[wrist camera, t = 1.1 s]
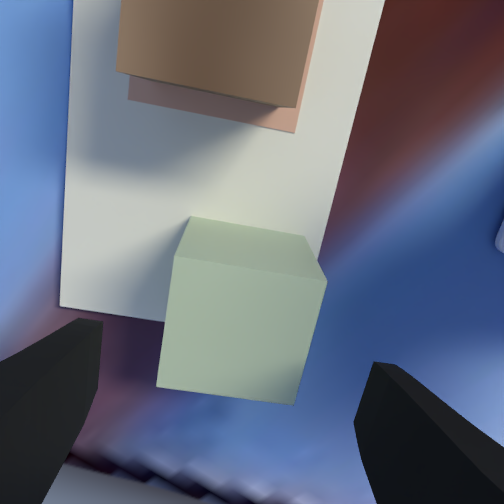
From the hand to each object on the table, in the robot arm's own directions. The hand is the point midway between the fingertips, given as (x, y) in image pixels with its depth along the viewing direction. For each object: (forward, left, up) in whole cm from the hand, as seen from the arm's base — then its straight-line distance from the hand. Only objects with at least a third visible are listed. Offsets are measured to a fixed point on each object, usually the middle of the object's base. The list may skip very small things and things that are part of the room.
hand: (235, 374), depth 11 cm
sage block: (0, 0, -6) cm, 6 cm away
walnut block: (+2, -9, -6) cm, 11 cm away
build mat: (+2, -6, -7) cm, 9 cm away
